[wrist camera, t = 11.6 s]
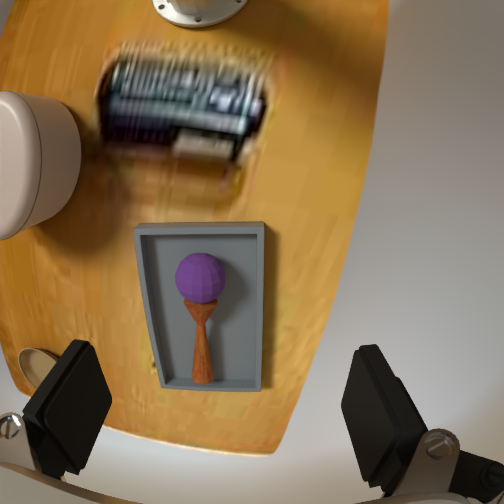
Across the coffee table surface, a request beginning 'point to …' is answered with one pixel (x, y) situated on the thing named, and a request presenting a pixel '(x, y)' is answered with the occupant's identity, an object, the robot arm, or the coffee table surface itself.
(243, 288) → the tray
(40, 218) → the container
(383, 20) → the coffee table surface
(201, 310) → the kendama
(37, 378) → the plant saucer
